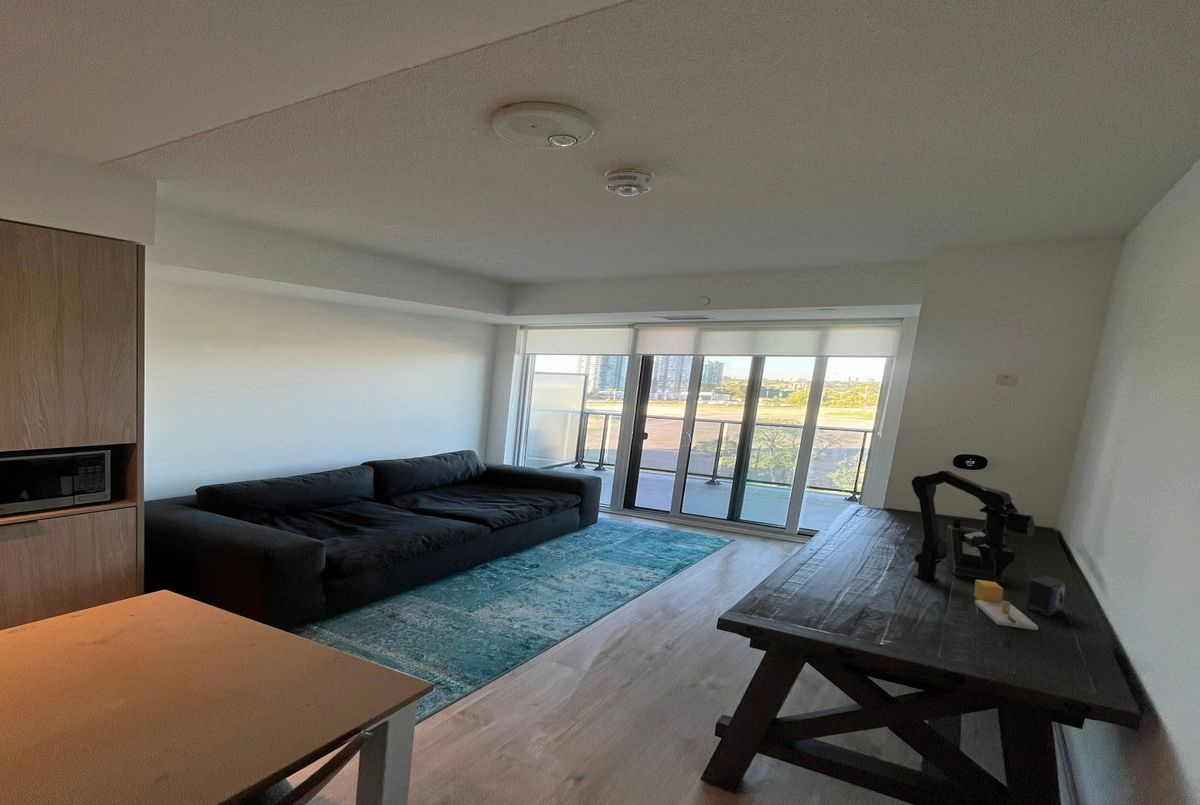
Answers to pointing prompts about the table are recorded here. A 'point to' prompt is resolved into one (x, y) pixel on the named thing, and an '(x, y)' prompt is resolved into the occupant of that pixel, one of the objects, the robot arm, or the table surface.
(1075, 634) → the table surface
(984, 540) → the robot arm
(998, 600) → the mustard yellow cube
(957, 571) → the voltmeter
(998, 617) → the plate
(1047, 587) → the small box
